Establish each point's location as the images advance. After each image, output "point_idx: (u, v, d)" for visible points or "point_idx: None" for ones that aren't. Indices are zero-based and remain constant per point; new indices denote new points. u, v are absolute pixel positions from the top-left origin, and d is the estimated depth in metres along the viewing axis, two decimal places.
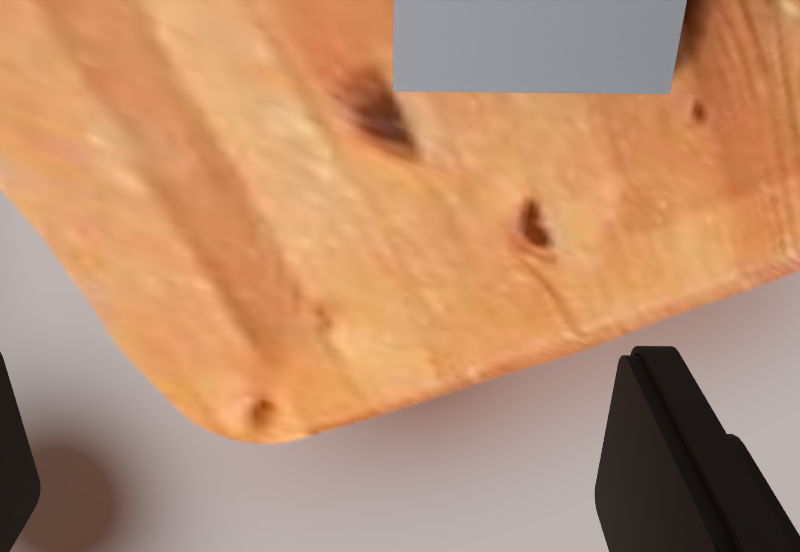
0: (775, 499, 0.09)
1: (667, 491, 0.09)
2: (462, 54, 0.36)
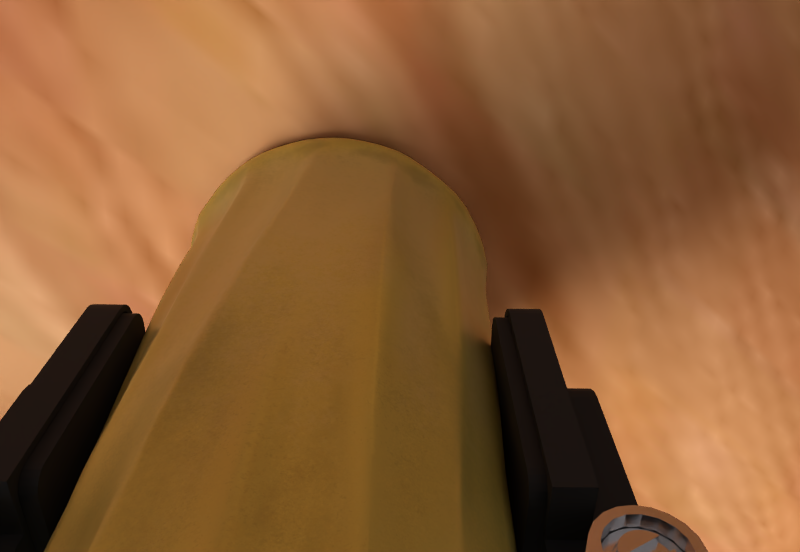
0: (612, 442, 0.10)
1: (511, 434, 0.09)
2: None
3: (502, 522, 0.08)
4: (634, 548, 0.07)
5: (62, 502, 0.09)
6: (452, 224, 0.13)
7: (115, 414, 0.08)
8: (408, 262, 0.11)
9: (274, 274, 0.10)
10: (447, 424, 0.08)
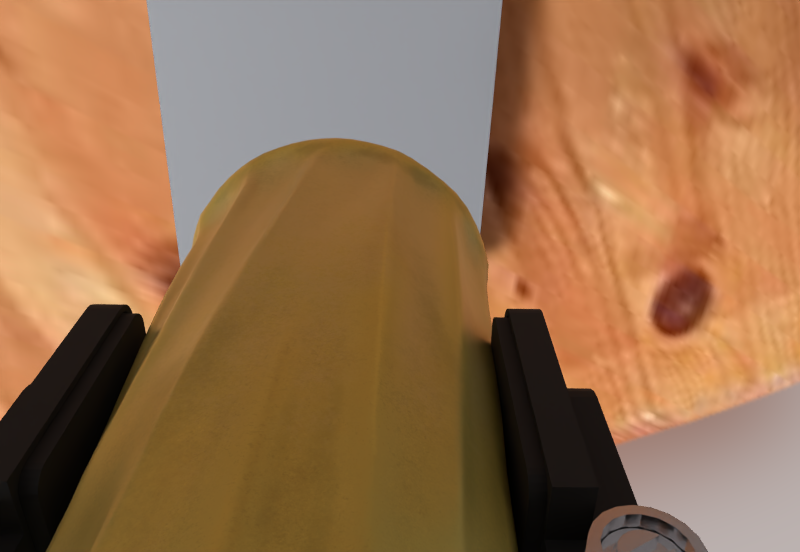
0: (612, 442, 0.10)
1: (510, 434, 0.09)
2: None
3: (504, 523, 0.08)
4: (634, 548, 0.07)
5: (62, 502, 0.09)
6: (453, 224, 0.13)
7: (117, 414, 0.08)
8: (410, 263, 0.11)
9: (276, 274, 0.10)
10: (449, 425, 0.08)
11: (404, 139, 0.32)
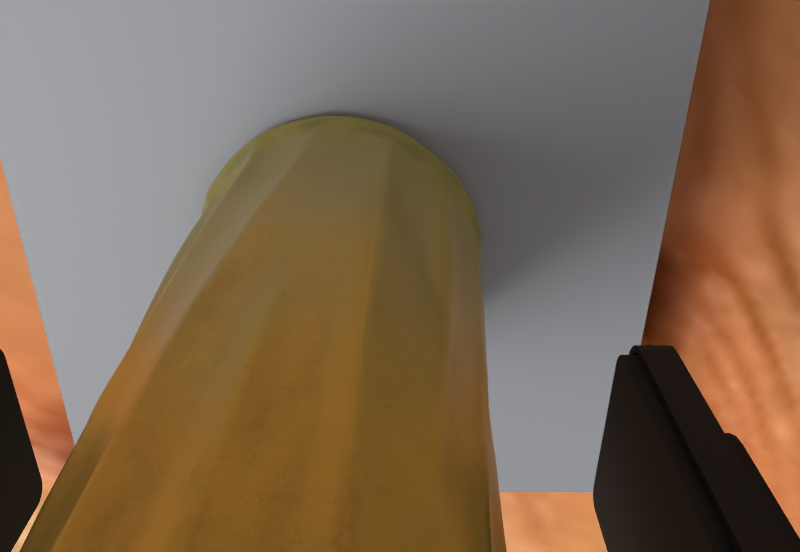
0: (773, 498, 0.09)
1: (665, 490, 0.09)
2: None
3: (481, 448, 0.08)
4: None
5: None
6: (446, 195, 0.14)
7: (127, 353, 0.09)
8: (401, 224, 0.11)
9: (275, 232, 0.10)
10: (431, 361, 0.09)
11: (494, 247, 0.16)
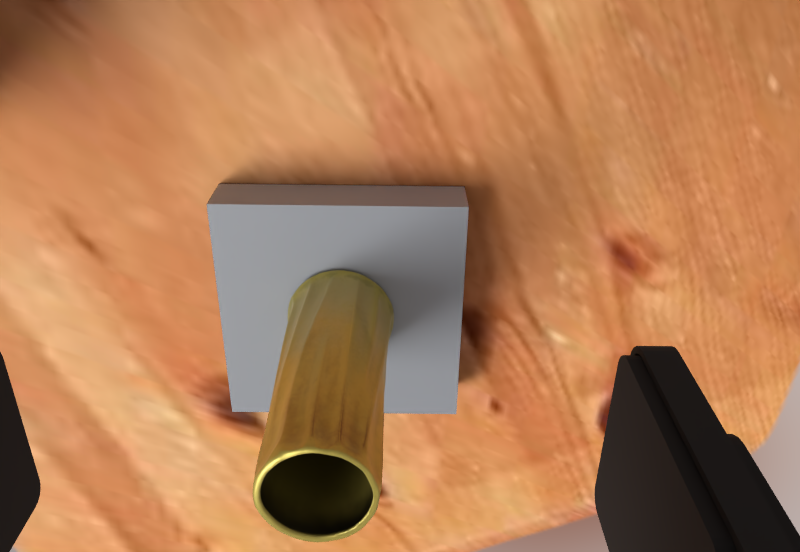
0: (775, 499, 0.09)
1: (668, 491, 0.09)
2: None
3: (377, 378, 0.35)
4: None
5: None
6: (377, 300, 0.40)
7: (287, 355, 0.35)
8: (360, 315, 0.38)
9: (323, 320, 0.37)
10: (366, 357, 0.35)
11: (399, 314, 0.42)
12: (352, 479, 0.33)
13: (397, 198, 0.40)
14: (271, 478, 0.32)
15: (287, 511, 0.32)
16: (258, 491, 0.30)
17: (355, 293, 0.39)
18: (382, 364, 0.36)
